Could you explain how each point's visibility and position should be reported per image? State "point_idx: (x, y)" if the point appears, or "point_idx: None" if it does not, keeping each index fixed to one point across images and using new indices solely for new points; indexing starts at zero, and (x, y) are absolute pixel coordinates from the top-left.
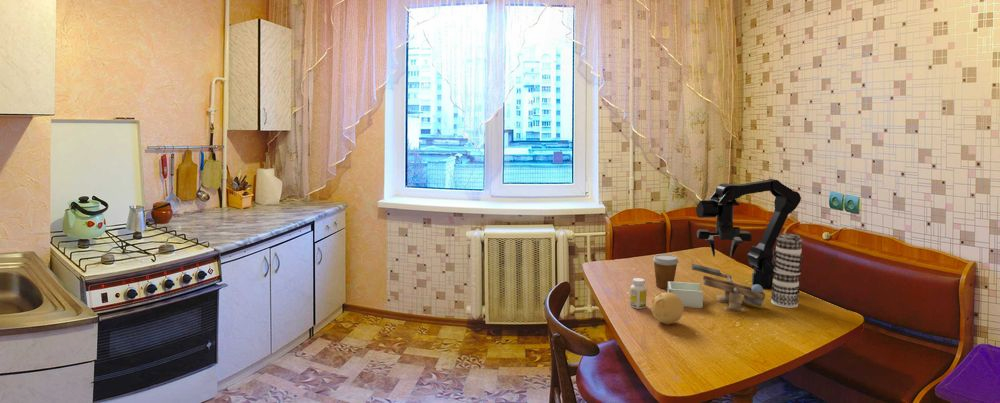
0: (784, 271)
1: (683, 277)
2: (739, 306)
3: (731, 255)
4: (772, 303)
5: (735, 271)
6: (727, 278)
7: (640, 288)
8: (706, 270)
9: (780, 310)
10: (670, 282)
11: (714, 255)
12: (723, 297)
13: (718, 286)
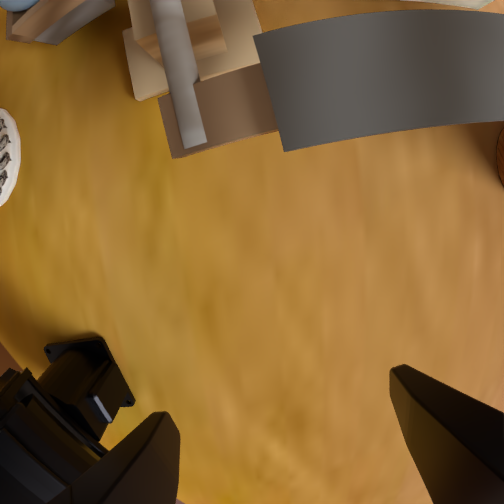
0: None
1: (450, 351)
2: None
3: (151, 427)
4: (16, 125)
5: (231, 496)
6: (192, 53)
7: None
8: (405, 13)
9: (2, 61)
10: None
11: (399, 372)
12: (227, 35)
13: None
